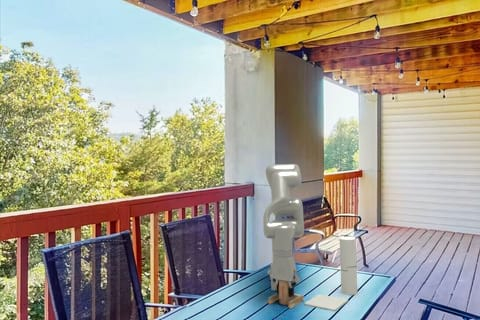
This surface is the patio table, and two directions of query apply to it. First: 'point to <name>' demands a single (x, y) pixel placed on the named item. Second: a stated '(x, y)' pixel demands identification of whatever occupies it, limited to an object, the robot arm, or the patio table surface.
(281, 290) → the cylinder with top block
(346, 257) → the cylindrical container
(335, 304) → the mat
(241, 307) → the patio table surface
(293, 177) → the robot arm
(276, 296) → the cradle
